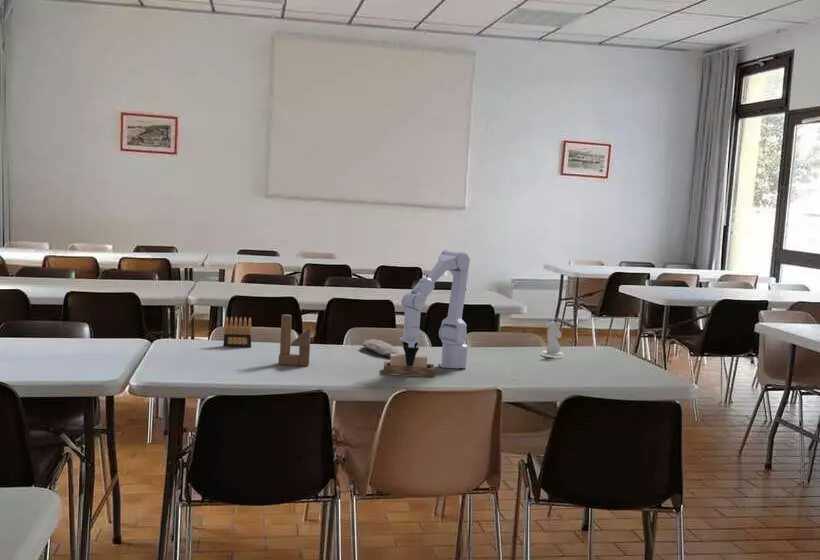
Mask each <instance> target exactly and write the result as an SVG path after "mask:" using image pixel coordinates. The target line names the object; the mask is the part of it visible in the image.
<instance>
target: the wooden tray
mask: <svg viewBox="0 0 820 560" xmlns="http://www.w3.org/2000/svg"><path fill="white" fill-rule="evenodd" d="M435 370H436V368H435V365H434V364H432V363H427V368H417V367H399V366H390V361H383V375H388V374H398V375H397V376H407V375H414V376H413V377H426V378H427V377H429V378H435V374H436V373H435V372H436V371H435Z"/></svg>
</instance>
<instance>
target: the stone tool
mask: <svg viewBox="0 0 820 560" xmlns="http://www.w3.org/2000/svg"><path fill="white" fill-rule="evenodd" d="M361 346H363V347H364V348H366V349H368V350H369V351H373V352H375V353H376V354H378V355H379V356H384V357H390V356H391V354H398V353H399V352H398V349H397V348H396V347H394V346H393V345H391V344H390V343H388V342H385V341H383V340H380V339H375V338H371V339H364V341H363V343H361Z"/></svg>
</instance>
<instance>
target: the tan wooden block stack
mask: <svg viewBox="0 0 820 560" xmlns="http://www.w3.org/2000/svg"><path fill="white" fill-rule="evenodd" d="M292 319H293V318H292V315H291V314H287V313H286V314H281V321H280V322H281V323H280V345H279V346H280V347H279V354H278V362H277V363H278V365H280V366H281V365H282V366H295V367H296V366H297V367H298V366H299V367H309V365H310V357H311V356H310V354H311V353H310V352H311V334H312V333H311V332H312V330H311V329H312V326H311V325H310V326H309V327H308V328H307V329H305V330H304V331H303V332H302V333H300V335H299V336H297V338H296V339H294V340H293V341H292V342H291V339H292V337H291V336H292ZM291 347H299V349H298V354H296V353H291Z"/></svg>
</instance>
